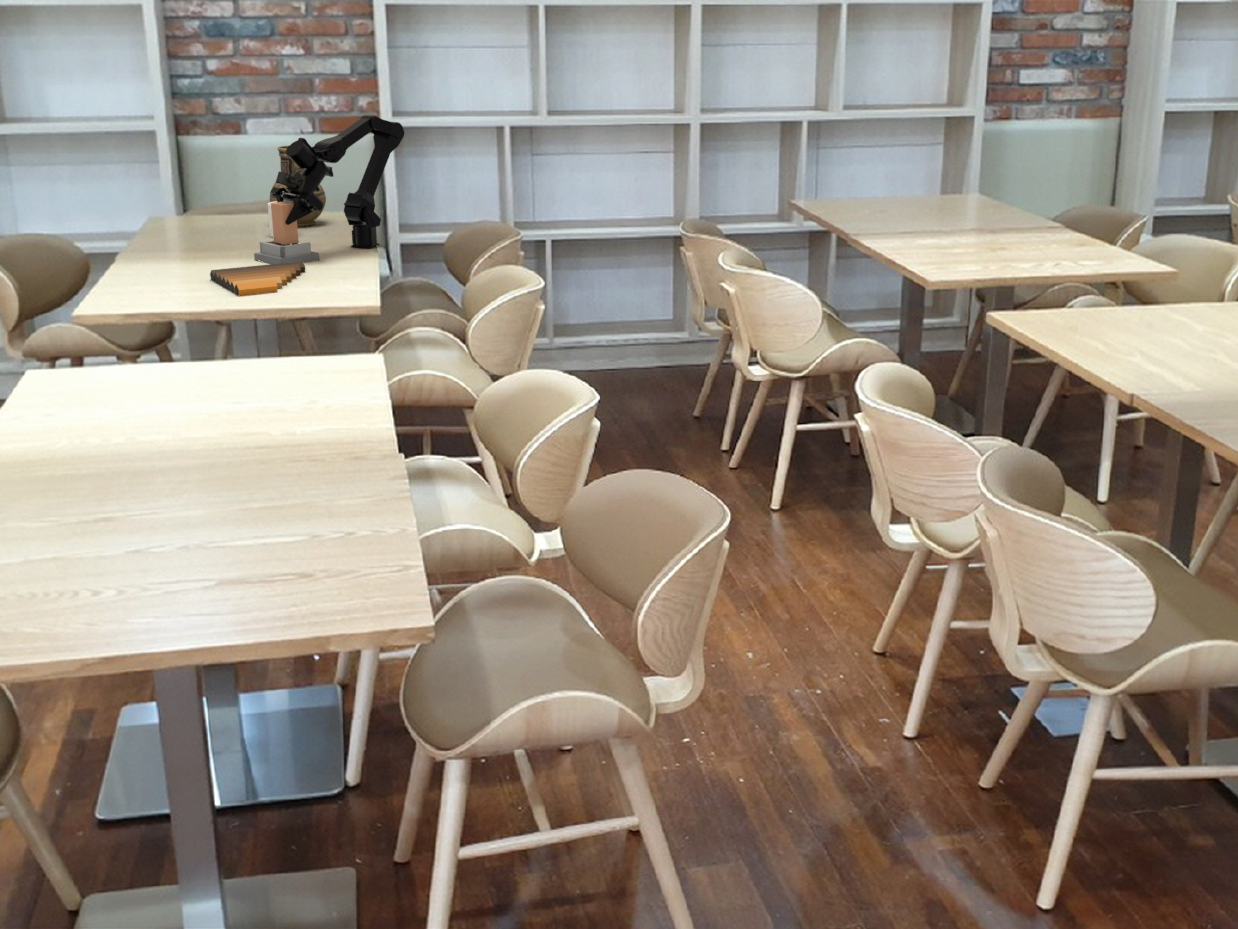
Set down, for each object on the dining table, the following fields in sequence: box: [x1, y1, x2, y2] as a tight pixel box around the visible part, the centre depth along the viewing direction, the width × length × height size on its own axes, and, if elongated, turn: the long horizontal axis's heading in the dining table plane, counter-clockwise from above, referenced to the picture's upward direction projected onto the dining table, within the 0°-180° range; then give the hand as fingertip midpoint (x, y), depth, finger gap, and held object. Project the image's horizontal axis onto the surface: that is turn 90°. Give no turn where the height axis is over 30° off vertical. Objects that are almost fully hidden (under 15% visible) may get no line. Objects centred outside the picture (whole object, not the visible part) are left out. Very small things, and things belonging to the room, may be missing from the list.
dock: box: [253, 239, 320, 264], centre depth 403 cm, size 13×13×5 cm
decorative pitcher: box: [269, 145, 327, 227], centre depth 459 cm, size 22×18×25 cm
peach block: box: [271, 200, 300, 246], centre depth 401 cm, size 4×6×13 cm
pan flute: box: [209, 261, 306, 296], centre depth 373 cm, size 25×3×25 cm
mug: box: [267, 201, 277, 239], centre depth 439 cm, size 12×8×10 cm
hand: (280, 222), depth 400 cm, fingers closed on peach block, 5 cm apart
